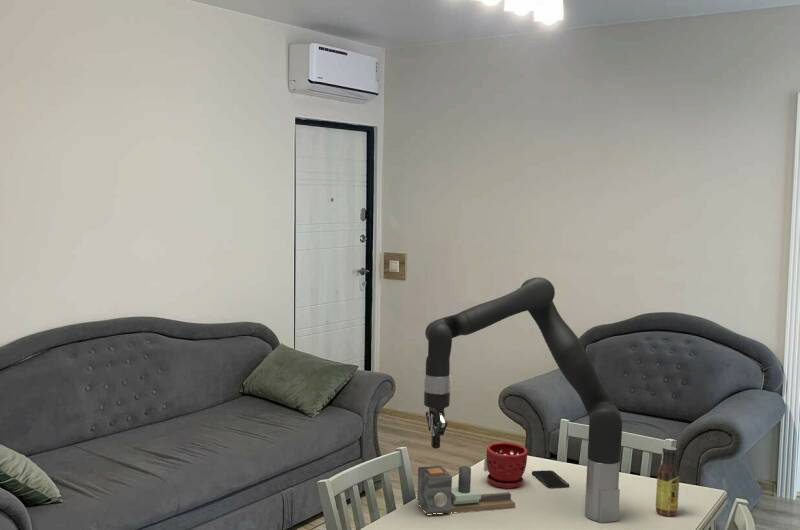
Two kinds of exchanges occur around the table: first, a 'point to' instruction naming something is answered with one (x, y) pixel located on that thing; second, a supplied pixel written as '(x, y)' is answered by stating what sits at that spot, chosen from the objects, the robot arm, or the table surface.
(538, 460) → the table surface
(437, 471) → the button
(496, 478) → the plant pot
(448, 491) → the rail
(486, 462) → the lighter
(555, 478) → the phone
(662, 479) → the sauce bottle
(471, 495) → the mint plate with knob
